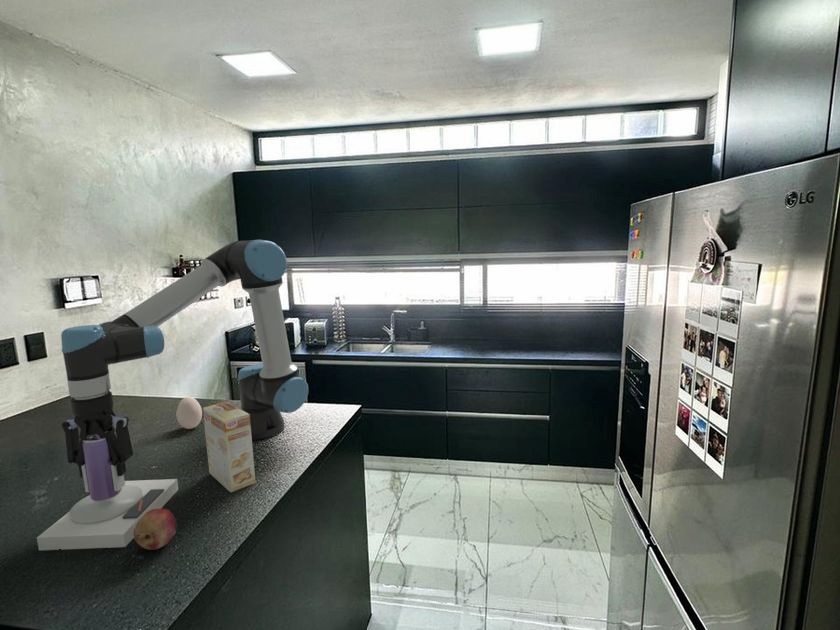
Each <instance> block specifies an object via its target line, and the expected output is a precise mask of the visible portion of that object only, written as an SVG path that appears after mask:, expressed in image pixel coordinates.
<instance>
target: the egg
mask: <svg viewBox="0 0 840 630" xmlns="http://www.w3.org/2000/svg"><path fill="white" fill-rule="evenodd" d="M175 417H176V420H177V422H178V424H179V425H180V426H181V427H182V428H183V429H187V430H192V429H195V428H196V427H197V426H198V425H199V424H200V423H201V420H202V417H203V408H202V406H201V405H200V403H199V401H198V400H197V399H196V398H194V397H191V396H186V397H184V398H182V399H181V400H180V402H179V403H178V406H177V408H176V416H175Z"/></svg>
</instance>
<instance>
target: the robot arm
mask: <svg viewBox="0 0 840 630" xmlns="http://www.w3.org/2000/svg"><path fill="white" fill-rule="evenodd" d="M200 262H201V263H200V265H199V266H197V267H196V268H195V269H193V270H192V271H190V272H188V273H187V274H184V275H183V276H182V277H181V278H179V279H177V280H175V281H174V282H173V283H171V284H169V285H168V286H166V287H164V288H162V289H161V290H160V291H158V292H157V293H155V294H153V295H151V296H150V297H148V298H147V299H146V300H144V301H142V302H141V303H140V304H137V305H136V306H134V307H133V308H131V309H130V310H128V311H126V312H125V313H123V314H122V315H119V316H118V317H117V318H115V319H114V320H111V321H105V322H102V323H99V324H88V325H78V326H73V327H68V328H65V329H64V330H63V331H62V332H61V334H60V337H61V339H60V340H61V352H62V355H63V360H64V366H65V372H66V378H67V386H68V395H69V397H71V399H70V405H71V411H72V415H74V417H73V418H70V419H67V420H66V421H64V422H62V423H61V429H62V430H63V431H64V433H65V434H64V435H65V436H64V437H65V444H66V445H65V447H66V455H67V457H66V459H67V462H68V463H69V464H76V465H77V466H78V471H79V476H80V478H83V485H84V490H85V491H84V492H85V493H90V491H89V484H88V478H87V471H86V465H85V458H84V452H83V446H82V443H83V439H84V440H86V439H87V438H90V437H91V436H92V435H93V434H97V435H99V437H100V438H101V439H103V438H106V441H107V444H108V451H109V453H110V455H111V457H112V460H113V462H114V463H113V464H112V465H111V471H112V478H113V484H114V491H119V490H120V489H121V488H122V487H123V486H124V485H125V481H126V480H125V474H126V473H127V467H126V461H128V460H129V459H130V458H132V457H133V456H134V451H133V447H132V441H131V436H130V433H129V427H128V426H129V420H130V418H129V417H128V416H123V417H119V416H116V414H115V412H114V409H113V408H114V399H113V398H114V397H113V392H112V391H110V390H112V386H111V378H110V371H109V370H110V369H109V365H113V364H118V363H124V362H129V361H133V360H139V359H144V358H145V359H146V358H147V359H148V358H150V357H154V356H158V355H160V354H162V352H163V351H164V349H165V339H164V338H165V337H164V334H163V331H162V330H161V329H160V326H161V325H163V324H164V323H165V322H167V321H169V320H171V319H172V317H173V318H174V316H176V315H178V314H179V313H180V312H182V311H184V309H186V308H188V307H189V306H190V305H192V304H194V303H195V302H196V301H198V300H199V299H201V298H202V297H204V296H205V295H207V294H208V293H210V292H211V291H213V290H215V289H216V288H217V287H223V288H224V287H225V286H226V285H228V284H229V283H231V282H234V281H236V280H237V281H238V280H240V284H241V289H242V290H244V291H245V292H247V293H248V295H249V301H250V307H251V311H252V316H253V322H254V326H255V327H254V328H255V332H256V336H257V337H256V338H257V341H258V348H259V352H260V357H261V363H257V364H253V365H252V364H251V365H248V366H245V367H243V368H240V369H239V370H238V375H237V378H238V379H237V382H238V388H239V397H240V398H239V399H240V409H241V410H243V411H245V412H246V413H248V414H250V425H251V436H252V441H253V440H263V439H268V438H271V437H274V436H277V435H279V434H280V433H282V432H283V431H284V430H285V420H284V417H283V415H282V413H286V414H290V413H294V412H296V411H297V410H299V409H300V408H301V407H302V406H303V405H304V404H305V401H306V400H307V398H308V395H309V384H308V383H307V381H306V380H305V379H304V378H302V377H301V376H300V374H299V369H298V368H299V367H298V365H297V364H295V362H293V361H292V358H291V350H290V346H289V340H288V334H287V328H286V323H285V318H284V317H285V316H284V311H283V307H282V302H281V301H282V300H281V295H280V290H279V289H280V287H281V286H282V284H283V283H284V282H283V276H284V275H285V272H286V271H287V266H288V263H287V262H288V260H287V256H286V254H285V252H284V251H283V249H282V248H281V247H280V246H279V245H278V244H276V243H275V242H273V241H270V240H264V239H253V240H237V241H236V240H235V241H233V242H230V243H227V244H226V245H224V246H222V247H221V248H220V249H218V250H216V251H214V252H213V253H211V254H210V255H208V256H207V257H205V258H204V259H202V260H201V261H200ZM79 430H80V431H79ZM106 431H107V432H106ZM105 432H106V433H105Z"/></svg>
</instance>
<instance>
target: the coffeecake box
mask: <svg viewBox="0 0 840 630" xmlns="http://www.w3.org/2000/svg"><path fill="white" fill-rule="evenodd" d="M202 417H203V423H204V432H205V433H204V435H205V444H206V451H207V461H208V472H209V474H210V475H211V476H212V477H213V478H214V479H215V481H217V482H218V483H220V484H221V485H222V486H223V488H225V489H226V490H227V491H228V492H229V493H231V494H232V493H233V492H237V491H239V490H241V489H244V488H246V487H248V486H252V485H254V484H256V483H257V482H256V472H255V460H254V450H253V440H252V436H251V425H250V414H248V413H246V412H245V411H243V410H241V408H239V407H238V406H235V405H234V404H232V403H230V402H229V401H223V402H218V403H216V404H213V405H209V406H205V407H202Z"/></svg>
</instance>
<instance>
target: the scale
mask: <svg viewBox="0 0 840 630" xmlns="http://www.w3.org/2000/svg"><path fill="white" fill-rule="evenodd" d="M178 483H179V482H178V479H177V478H169V479H167V478H166V479H146V480H145V479H143V480H141V479H140V480H125V485H124V486H123V487H122V490H121V492H120V494H119V495H118V496H116V497H115V498H113V499H111V500H108V501H104V502H95V501H93V500H92V499H91V497H90V494H89V495H87V496H85V497H84V498H82V499H80V500H79V501H76V503H75V504H74V505H73V506H71V508H70V510H69V511H68V512H67V513H66V514H64V515H63V516H62V517H61V518H59V519H58V520H57V521H56V522H55V523H53V524H52V525H50V526H49V527H48V528H47V529H45V530H44V531H42V533H40V535H38V536H37V537H36V541H37V546H38V547H37V548H38V551H55V550H56V551H57V550H58V551H60V550H59V549H61V551H62V550H85V549H86V550H87V549H105V548H106V549H107V548H108V549H109V548H110V549H112V548H126V547H127V546H128V544H129V543H131V541H132V540H134V539H135V538H134V529H135V526H136V524H137V522H138V521H139V520H140V519H141V518H142V517H143V515H144V514H145V513H147V512H148V511H150V510H153V509H163V507H164V506H165V505H166V503H168V501H170V500H171V498H172V497H173V496H174V495H175V494H176V493H177V492H178V490H179V484H178Z"/></svg>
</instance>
